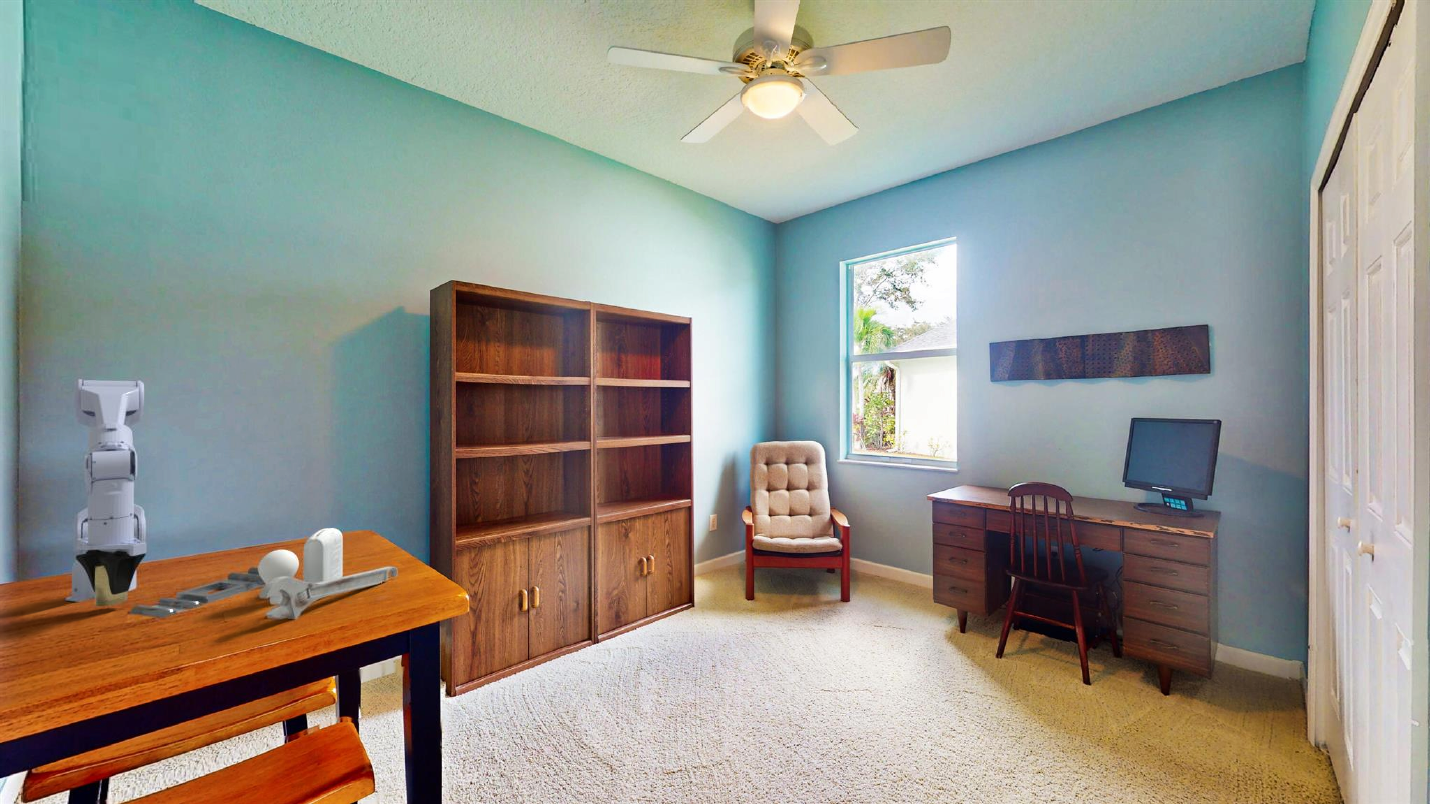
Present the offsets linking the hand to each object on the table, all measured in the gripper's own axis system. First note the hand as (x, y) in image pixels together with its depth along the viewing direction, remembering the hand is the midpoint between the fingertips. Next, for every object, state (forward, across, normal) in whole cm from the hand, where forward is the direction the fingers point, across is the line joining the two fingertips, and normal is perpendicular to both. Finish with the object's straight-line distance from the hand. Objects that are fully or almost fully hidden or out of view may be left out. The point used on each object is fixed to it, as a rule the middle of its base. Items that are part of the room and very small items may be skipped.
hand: (111, 591), depth 102 cm
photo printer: (+5, +23, +22) cm, 32 cm away
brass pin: (+2, 0, 0) cm, 2 cm away
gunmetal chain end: (+5, +9, +15) cm, 18 cm away
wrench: (+5, +32, +17) cm, 37 cm away
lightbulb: (+5, +25, +11) cm, 28 cm away
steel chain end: (+4, +9, +7) cm, 13 cm away
